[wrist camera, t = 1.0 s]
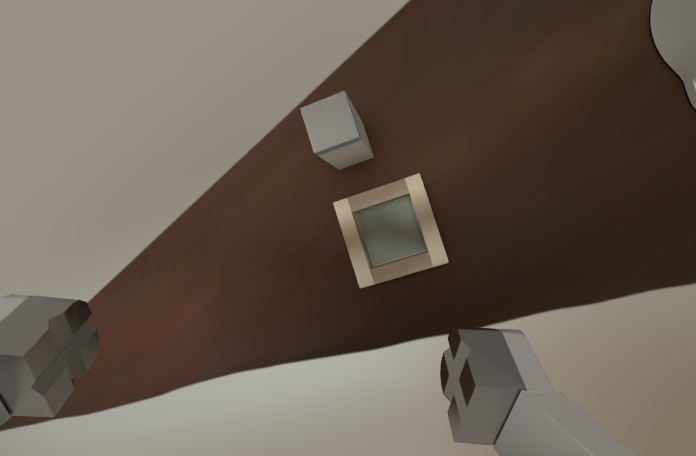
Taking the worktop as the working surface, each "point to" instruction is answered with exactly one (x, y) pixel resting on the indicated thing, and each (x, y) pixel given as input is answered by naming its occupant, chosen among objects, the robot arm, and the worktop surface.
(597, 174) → the worktop surface
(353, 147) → the peg
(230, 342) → the worktop surface
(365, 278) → the holder
